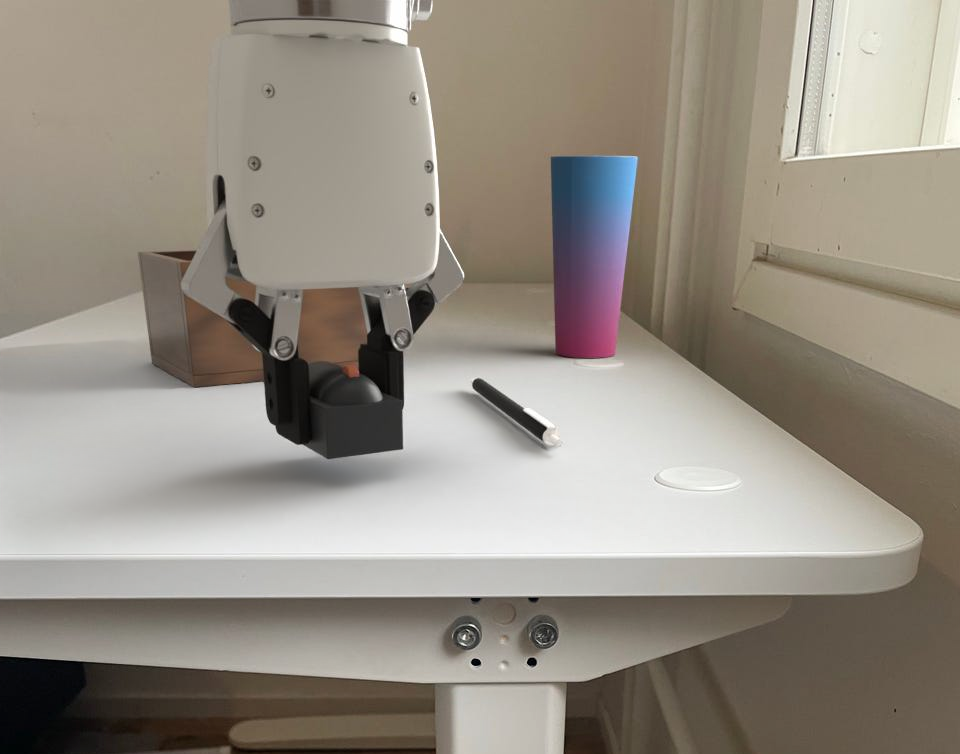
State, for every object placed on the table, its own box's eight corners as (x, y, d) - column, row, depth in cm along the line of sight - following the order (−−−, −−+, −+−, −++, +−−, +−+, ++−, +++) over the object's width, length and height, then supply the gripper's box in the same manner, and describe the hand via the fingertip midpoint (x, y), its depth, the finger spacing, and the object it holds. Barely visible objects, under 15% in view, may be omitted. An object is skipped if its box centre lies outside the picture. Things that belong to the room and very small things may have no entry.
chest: (194, 387, 72) (180, 262, 68) (151, 363, 81) (137, 251, 77) (376, 370, 78) (371, 255, 75) (317, 350, 87) (311, 246, 84)
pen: (550, 451, 54) (551, 430, 54) (466, 386, 71) (465, 370, 71) (566, 450, 55) (567, 430, 54) (478, 386, 72) (478, 369, 71)
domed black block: (276, 430, 53) (270, 352, 51) (346, 422, 55) (343, 346, 53) (327, 459, 48) (323, 374, 46) (403, 449, 50) (402, 366, 48)
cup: (571, 344, 90) (578, 157, 84) (640, 352, 87) (653, 157, 80) (529, 354, 85) (534, 156, 79) (600, 362, 82) (611, 155, 75)
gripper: (446, 30, 50) (445, 403, 58) (95, -2, 42) (149, 436, 50) (531, 14, 45) (518, 430, 52) (143, -27, 36) (195, 472, 44)
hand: (337, 429), depth 51 cm, fingers closed on domed black block, 4 cm apart
